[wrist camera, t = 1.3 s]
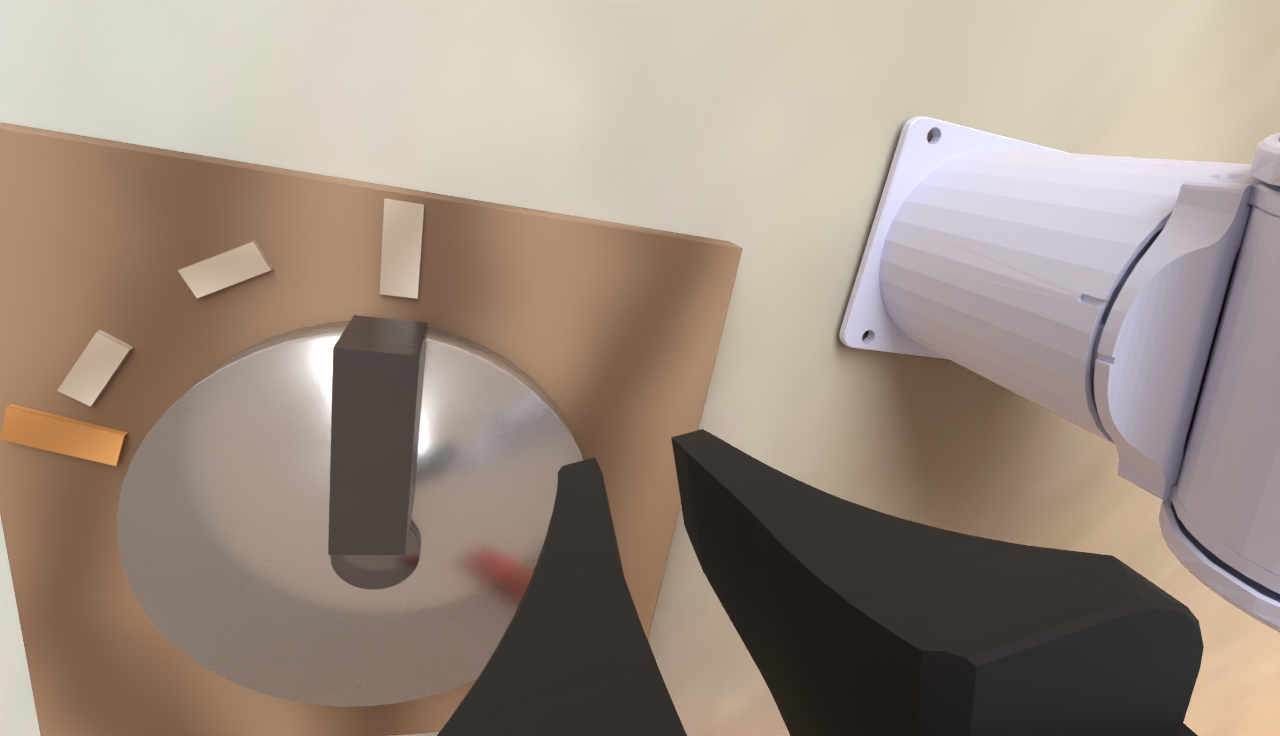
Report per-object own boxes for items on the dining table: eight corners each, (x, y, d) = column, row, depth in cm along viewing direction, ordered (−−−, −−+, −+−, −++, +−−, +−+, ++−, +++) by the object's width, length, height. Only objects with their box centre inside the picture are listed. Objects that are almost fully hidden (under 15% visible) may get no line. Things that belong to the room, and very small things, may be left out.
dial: (621, 329, 19) (652, 377, 16) (558, 663, 24) (572, 758, 20) (121, 273, 15) (15, 318, 12) (159, 682, 20) (90, 803, 16)
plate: (728, 241, 21) (744, 249, 19) (622, 693, 27) (629, 721, 26) (-32, 117, 15) (-80, 117, 14) (67, 728, 21) (41, 767, 20)
